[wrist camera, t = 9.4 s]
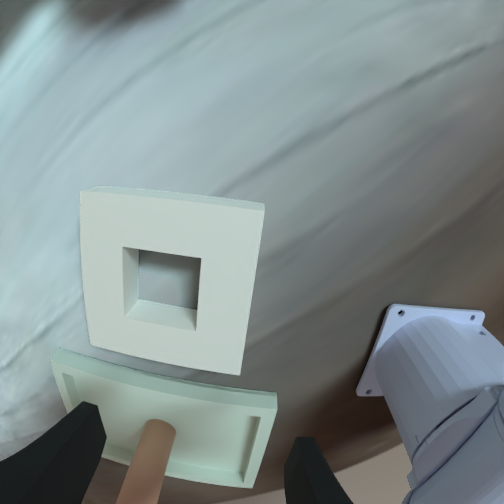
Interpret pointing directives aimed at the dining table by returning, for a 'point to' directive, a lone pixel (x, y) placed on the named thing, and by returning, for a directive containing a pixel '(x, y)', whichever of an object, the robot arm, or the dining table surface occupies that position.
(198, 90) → the dining table surface
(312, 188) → the dining table surface
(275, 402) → the tray
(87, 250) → the socket block
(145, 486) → the dowel
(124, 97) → the dining table surface
